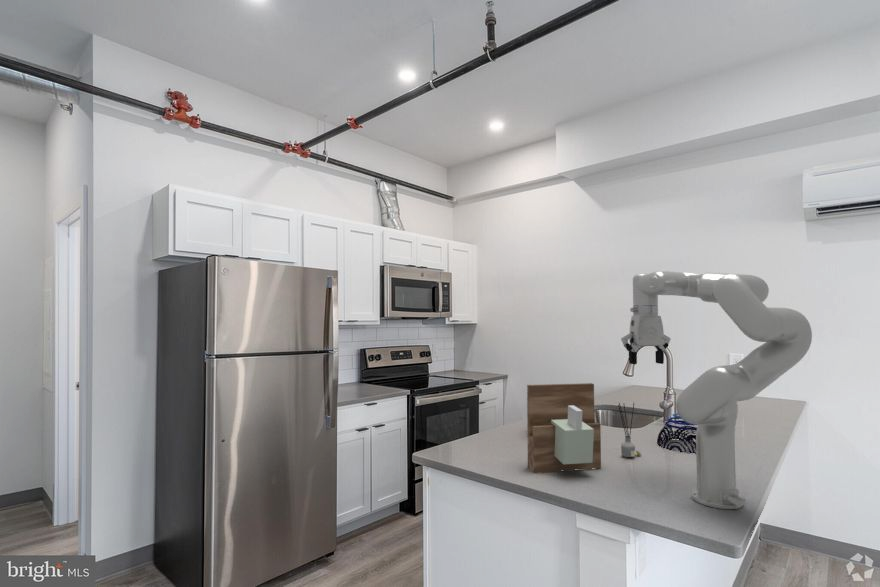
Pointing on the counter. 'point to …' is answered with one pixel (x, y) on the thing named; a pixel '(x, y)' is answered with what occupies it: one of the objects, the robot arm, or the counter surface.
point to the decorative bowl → (688, 438)
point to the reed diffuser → (628, 440)
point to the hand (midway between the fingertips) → (646, 363)
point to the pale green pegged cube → (573, 438)
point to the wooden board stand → (554, 406)
